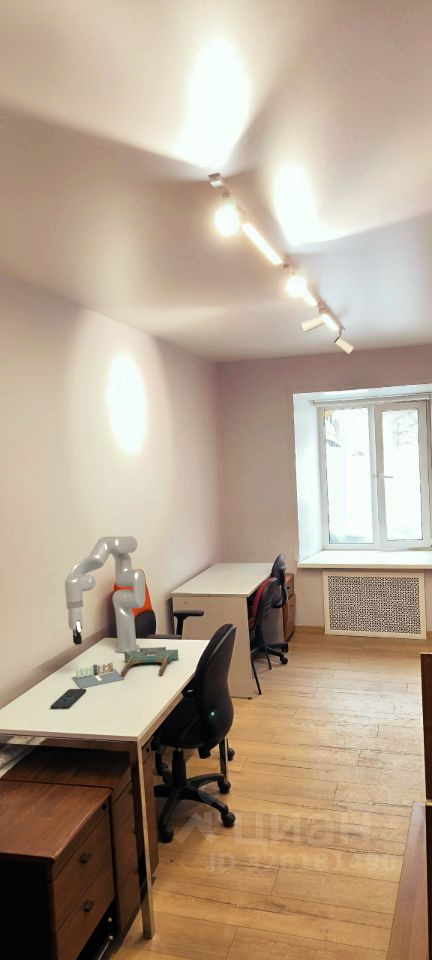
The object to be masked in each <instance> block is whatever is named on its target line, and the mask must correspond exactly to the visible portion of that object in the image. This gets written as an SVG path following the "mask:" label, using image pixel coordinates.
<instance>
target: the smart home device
mask: <svg viewBox="0 0 432 960" xmlns="http://www.w3.org/2000/svg"><path fill="white" fill-rule="evenodd" d="M86 693H87V688H82V689H80V688H68V690H66V691H65V692H64V693H62V695H61V696H59V698H58V699H56V701H55V700H54V702H53V703H52V704H51V705H50V710H69V709H71V708H72V706H74V705H75V704H76V702H78V701H79V700H80V698H81V697H83V696H84V695H85V694H86Z"/></svg>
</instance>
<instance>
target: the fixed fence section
mask: <svg viewBox="0 0 432 960" xmlns="http://www.w3.org/2000/svg"><path fill="white" fill-rule="evenodd" d="M92 667H93V673H94V676H96V675H100V674H101V673H103V674H105V673H106V672H109V673H110V672H113V669H114V663H113V661H111V662H109V663H107V664H102V665H100V664H99V665H98V664H93V665H92ZM106 668H107V669H106ZM101 669H102V670H101Z"/></svg>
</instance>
